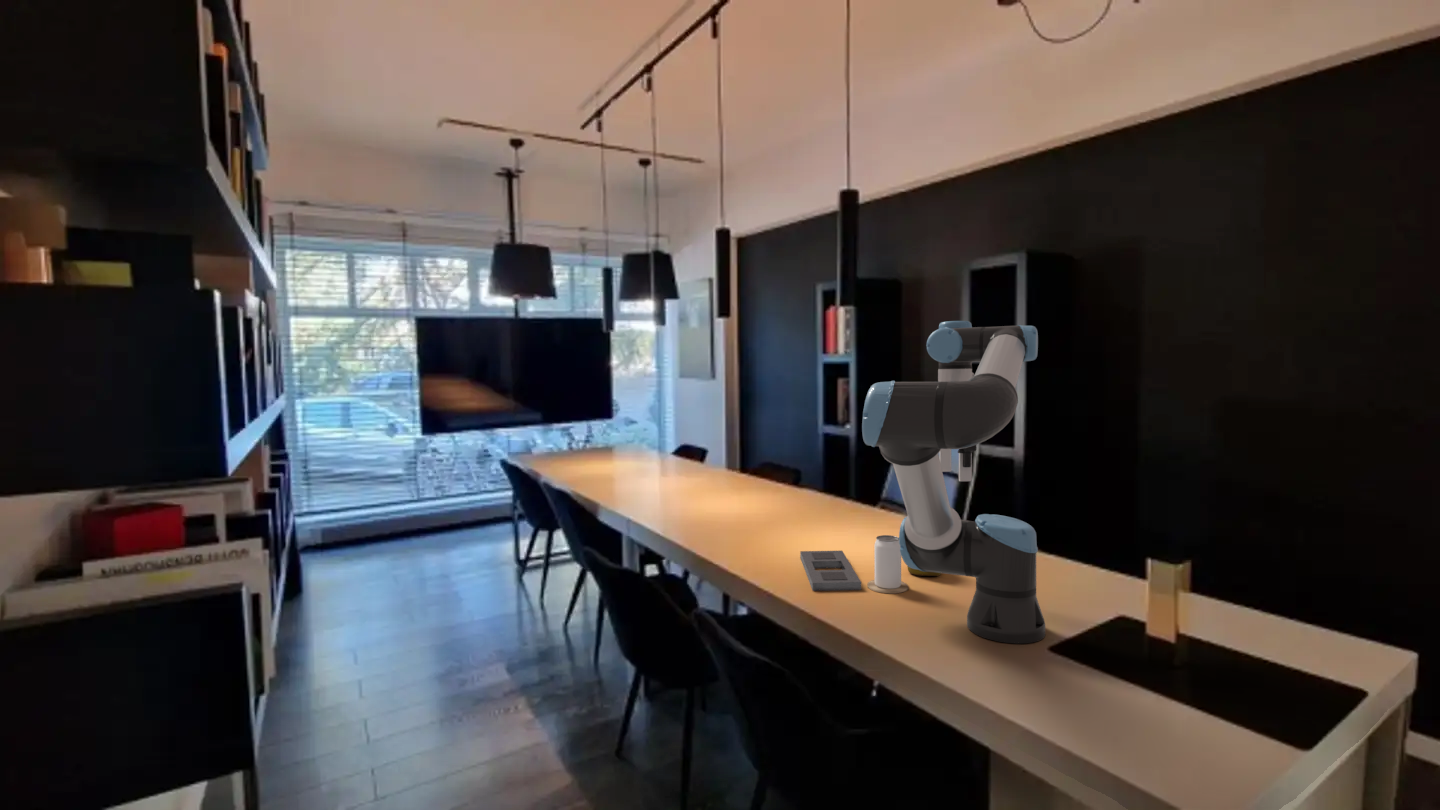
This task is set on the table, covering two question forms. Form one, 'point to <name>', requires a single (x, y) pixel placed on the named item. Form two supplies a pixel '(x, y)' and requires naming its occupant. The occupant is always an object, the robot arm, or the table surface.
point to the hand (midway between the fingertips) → (954, 476)
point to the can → (887, 562)
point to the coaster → (901, 589)
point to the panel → (829, 571)
